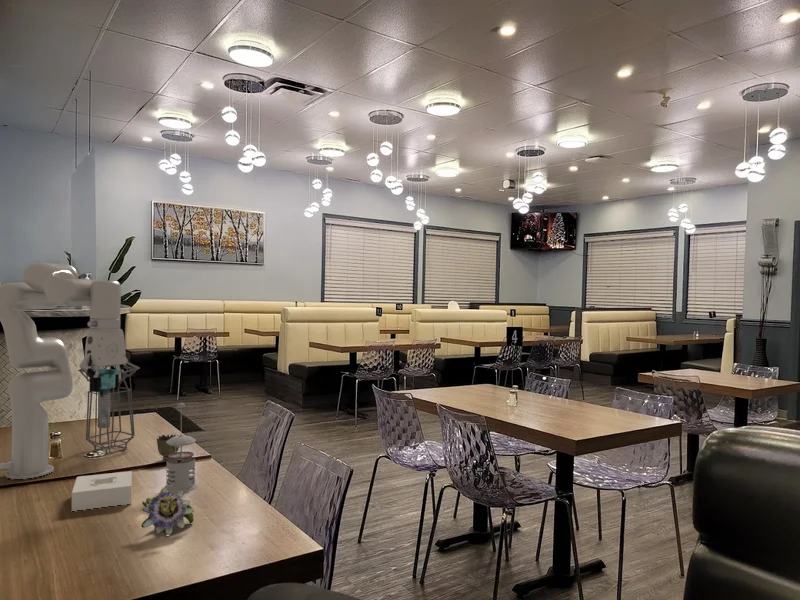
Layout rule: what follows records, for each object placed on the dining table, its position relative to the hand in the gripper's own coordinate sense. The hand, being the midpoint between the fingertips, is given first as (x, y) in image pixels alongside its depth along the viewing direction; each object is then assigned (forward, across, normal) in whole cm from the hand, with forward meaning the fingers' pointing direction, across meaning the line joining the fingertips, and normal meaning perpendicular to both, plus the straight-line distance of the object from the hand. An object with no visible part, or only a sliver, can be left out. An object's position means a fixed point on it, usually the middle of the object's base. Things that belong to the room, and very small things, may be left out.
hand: (104, 389), depth 160 cm
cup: (+30, +34, +9) cm, 47 cm away
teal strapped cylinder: (+10, 0, 0) cm, 10 cm away
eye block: (+30, -1, -2) cm, 30 cm away
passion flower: (+30, -10, -32) cm, 45 cm away
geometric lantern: (+31, +35, +37) cm, 59 cm away
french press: (+30, +15, -14) cm, 36 cm away
